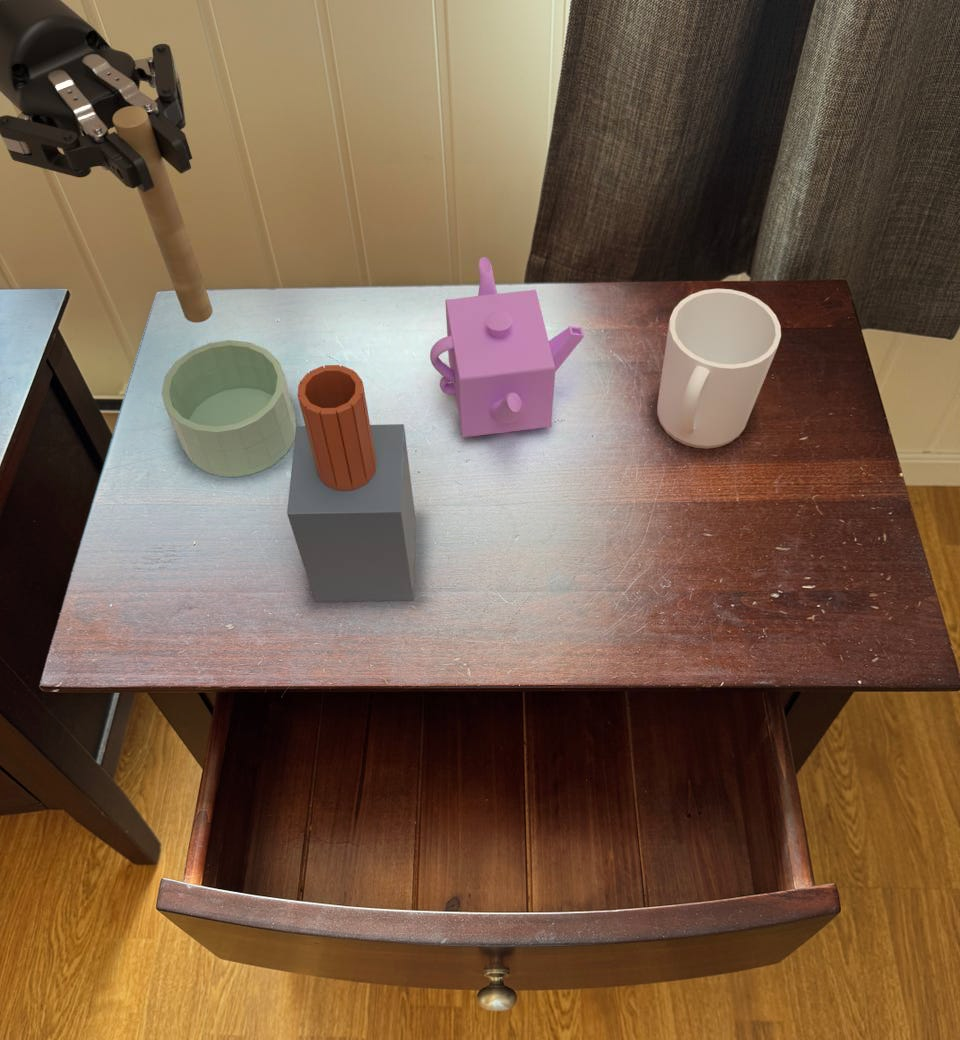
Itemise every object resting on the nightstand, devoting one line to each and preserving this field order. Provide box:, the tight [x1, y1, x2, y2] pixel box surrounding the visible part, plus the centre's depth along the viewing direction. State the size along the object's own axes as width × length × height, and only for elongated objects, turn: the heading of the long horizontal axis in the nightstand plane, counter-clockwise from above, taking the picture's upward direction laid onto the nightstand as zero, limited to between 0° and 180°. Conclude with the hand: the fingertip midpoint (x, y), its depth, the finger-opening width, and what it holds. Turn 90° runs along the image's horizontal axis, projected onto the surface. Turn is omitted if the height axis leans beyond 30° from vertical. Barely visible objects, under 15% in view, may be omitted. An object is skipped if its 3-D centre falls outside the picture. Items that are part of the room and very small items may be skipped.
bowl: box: [161, 339, 297, 478], centre depth 84 cm, size 10×10×6 cm
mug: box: [656, 288, 782, 450], centre depth 82 cm, size 11×9×10 cm
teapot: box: [429, 256, 585, 438], centre depth 84 cm, size 18×13×10 cm
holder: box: [286, 364, 417, 603], centre depth 71 cm, size 8×8×20 cm
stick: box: [112, 106, 214, 324], centre depth 68 cm, size 2×2×16 cm
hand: (164, 167), depth 61 cm, fingers closed on stick, 2 cm apart
